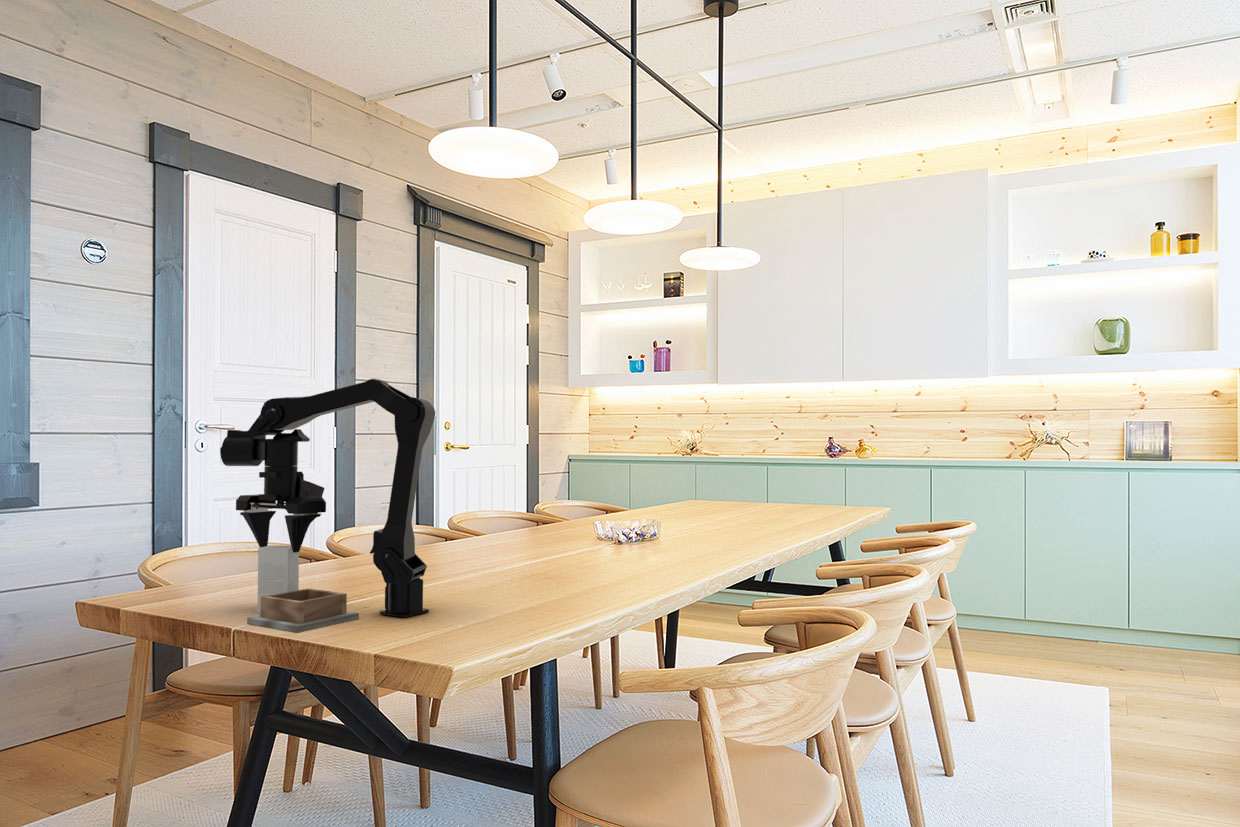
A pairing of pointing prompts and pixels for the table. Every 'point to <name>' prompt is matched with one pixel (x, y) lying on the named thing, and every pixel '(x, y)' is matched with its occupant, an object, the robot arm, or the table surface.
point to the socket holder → (303, 610)
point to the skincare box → (277, 571)
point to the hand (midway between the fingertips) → (279, 550)
